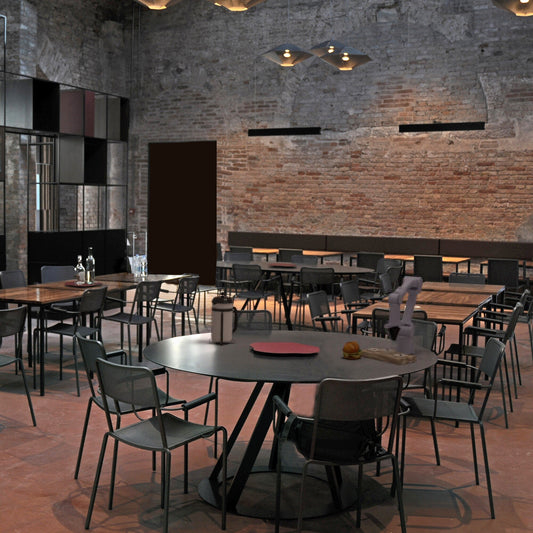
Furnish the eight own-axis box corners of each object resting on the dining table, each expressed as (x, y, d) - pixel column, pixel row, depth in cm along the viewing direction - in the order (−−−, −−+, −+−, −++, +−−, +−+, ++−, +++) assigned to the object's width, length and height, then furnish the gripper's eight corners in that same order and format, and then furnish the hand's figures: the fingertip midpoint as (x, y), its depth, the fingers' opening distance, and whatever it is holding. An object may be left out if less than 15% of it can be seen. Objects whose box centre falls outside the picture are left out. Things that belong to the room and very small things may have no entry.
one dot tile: (373, 352, 409) (373, 347, 409) (382, 354, 404) (382, 349, 404) (366, 353, 405) (366, 348, 405) (374, 355, 401) (375, 350, 400)
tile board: (375, 352, 413) (375, 347, 413) (416, 361, 392) (416, 356, 392) (358, 355, 404) (359, 350, 404) (399, 365, 383) (399, 359, 383)
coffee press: (235, 346, 423) (236, 293, 420) (207, 345, 423) (208, 293, 421) (237, 340, 440) (238, 290, 438) (210, 339, 440) (211, 289, 438)
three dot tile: (399, 358, 395) (399, 353, 395) (408, 360, 391) (408, 355, 391) (392, 359, 392) (392, 354, 391) (401, 361, 387) (401, 356, 387)
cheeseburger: (365, 357, 401) (364, 340, 398) (357, 365, 392) (356, 347, 389) (348, 354, 406) (347, 337, 403) (339, 362, 397) (338, 345, 394)
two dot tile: (386, 353, 402) (386, 348, 402) (395, 354, 398) (395, 349, 397) (379, 354, 398) (379, 349, 398) (387, 356, 394) (388, 351, 393)
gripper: (391, 317, 392) (390, 343, 393) (409, 315, 401) (408, 340, 402) (381, 315, 397) (380, 340, 398) (398, 313, 406) (397, 338, 408)
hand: (393, 340), depth 401 cm, fingers closed
